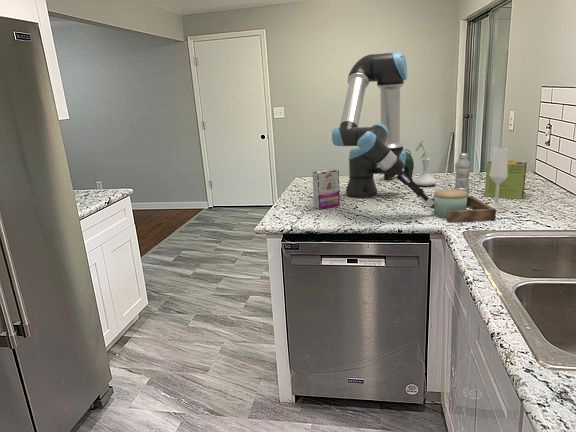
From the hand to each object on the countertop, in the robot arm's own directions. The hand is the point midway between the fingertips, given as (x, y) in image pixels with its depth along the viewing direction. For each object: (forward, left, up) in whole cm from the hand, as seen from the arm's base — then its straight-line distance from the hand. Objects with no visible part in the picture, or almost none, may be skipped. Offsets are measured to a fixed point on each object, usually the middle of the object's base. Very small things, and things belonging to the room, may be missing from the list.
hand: (431, 204), depth 174 cm
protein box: (+18, +46, -5) cm, 50 cm away
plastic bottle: (+2, +35, -5) cm, 35 cm away
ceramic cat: (-42, +67, -5) cm, 79 cm away
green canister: (+6, +4, -4) cm, 8 cm away
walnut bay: (+9, +7, -4) cm, 12 cm away
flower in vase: (-22, +54, -5) cm, 59 cm away
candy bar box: (-45, -6, -5) cm, 46 cm away
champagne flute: (+19, +24, -5) cm, 31 cm away
